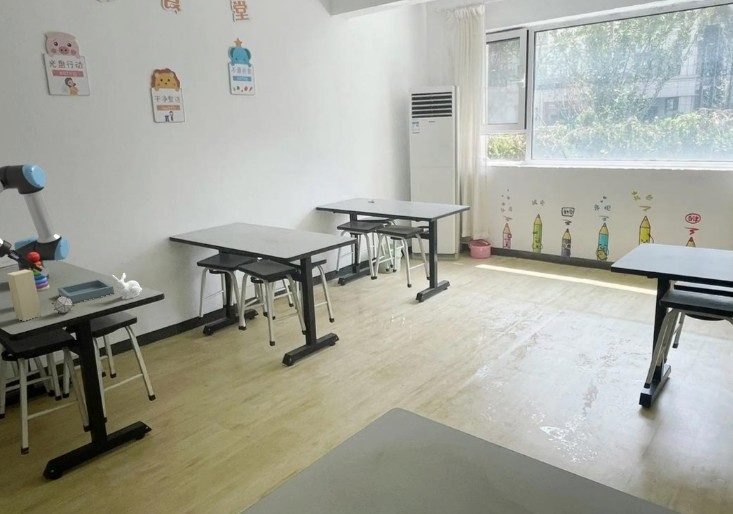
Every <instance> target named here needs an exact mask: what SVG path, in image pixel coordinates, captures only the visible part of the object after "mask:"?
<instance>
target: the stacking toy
mask: <svg viewBox="0 0 733 514" xmlns="http://www.w3.org/2000/svg"><path fill="white" fill-rule="evenodd" d="M39 258H40V256H39V254H38V253H36V252H31V253H29V254H28V255H27V259H28V260H29V261H30V262H32V263H34V264H37V265H38V266H40V265H41V262H39ZM31 267H32V266H31ZM40 267H42V266H40ZM29 270H30V271H32V270H31V268H29ZM33 275H34V280H35V285H36V290H37V293H42V292H46V291H48V290H49V289H50V288H51V286H50V284H49V281H48V279H47V278H46V277H45V276H44V275H42V274H40V273H38V272H37V271H35V270H33Z"/></svg>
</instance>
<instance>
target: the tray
mask: <svg viewBox="0 0 733 514" xmlns="http://www.w3.org/2000/svg"><path fill="white" fill-rule="evenodd" d="M57 290H58V291H57V292H58V296H59V297H60V295H62V296H63V297H67V296H69V297H68V298H69V299H70V300H71V299H73V300H71V301H72V304H73V303H75V304H78V303H77V302H79V303H81V302H80V301H83V302H85V301H84V300H88V301H90V300H89V299H92V300H94V299H93V298H96V299H98V298H97V297H100V298H102V297H101V296H104V297H107V296H106V295H109V296H111V295H110V294H113V295H115V290H114V286H113V285H111V283H108V282H106V281H105V280H103V279H102V278H98V279H94V280H88V281H85V282H84V281H83V282H80V283H76V284H70V285H66V286H61V287H58V288H57ZM73 305H74V304H73Z"/></svg>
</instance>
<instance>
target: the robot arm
mask: <svg viewBox="0 0 733 514" xmlns="http://www.w3.org/2000/svg"><path fill="white" fill-rule="evenodd" d="M46 184H47V177H46V174H45V172H44V170H43V169H42V168H41V167H40V166H39V165H36V164H16V165H14V164H13V165H3V166H1V167H0V194H1V193H2V192H3V191H5V190H10V189H11V190H13V189H14V190H15V189H16V190H17V191H18V194H19V195H21V196H23V199H24V200H25V203H26V205H27V209H28V211H29V214H30V216H31V219H32V222H33V225H34V227H35V230H36V233H37V235H38V236H34V237H33V236H31V237H28V238H27V237H26V238H24V239H20V240H17V241H16V242H14V244H13V247H14V249H12V243H10V242H8V241H7V240H3V238H2V237H0V258H1V259H2V258H3V257H5V256H6V255H7V258H9V259H10V260H12V261H13V260H14V261H15V262H17V266H18V271H21V270H29V268H31V270H32V271H33V270H35V271H37V272H38V273H40V274H42V275H44V276H45V277H46V278H47V280H48V279H50V271H49V270H48V269H47V268H46V267H45V265H44V262H47V261H48V262H49V261H50V262H52V261H56V262H57V261H63V260H65V259H67V257H68V256H69V253H70V242H69V240H68V239H66V238H65V237H64V238H63V237H62V235H61V233H60V232H58V231H57V230H56V228H55V223H54V221H53V219H52V216H51V214H50V209H49V208H48V205H47V202H46V199H45V196H44V194H43V191H44V189H45V186H46ZM31 252H36V253H38V254H39V256H40V258H39V262H41V265H40V266H42V267H40V266H38V265H37V264H34V263H32V262H30V261H29V260H28V259H27V255H28V254H29V253H31ZM31 266H32V267H31Z"/></svg>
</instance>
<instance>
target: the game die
mask: <svg viewBox="0 0 733 514" xmlns="http://www.w3.org/2000/svg"><path fill="white" fill-rule="evenodd" d="M60 296H61V297H60ZM60 296H59V297H58V298H55V301H54V302H52V303H51V305H53V306H54V307H53V308H54V309H53V311H57V314H60V313H62V314H64V315H65V314H66V315H67V312H69V311H72V310H71V309H72V308H73V307H75V306H76V305H75V304H72V301H71V300H73V299H71V300H70V299H69V298H68V297H69V296H67V297H63V296H62V295H60Z"/></svg>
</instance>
